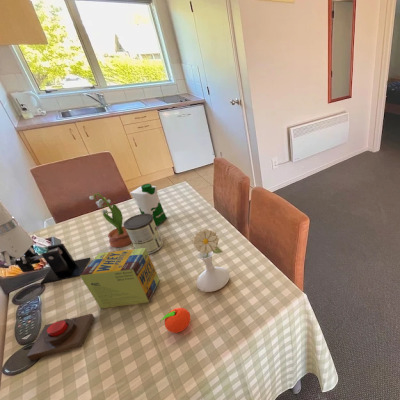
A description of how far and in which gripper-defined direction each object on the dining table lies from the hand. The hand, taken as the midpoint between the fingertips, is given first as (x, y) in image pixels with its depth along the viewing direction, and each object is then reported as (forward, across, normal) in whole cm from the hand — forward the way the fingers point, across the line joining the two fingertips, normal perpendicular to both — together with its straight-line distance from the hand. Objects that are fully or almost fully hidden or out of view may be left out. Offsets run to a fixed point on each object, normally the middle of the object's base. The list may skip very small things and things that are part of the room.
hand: (32, 266), depth 97 cm
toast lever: (-2, 0, +4) cm, 5 cm away
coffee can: (+6, -6, +36) cm, 37 cm away
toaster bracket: (+6, 0, +9) cm, 10 cm away
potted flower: (+6, -14, +24) cm, 28 cm away
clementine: (+6, +40, +52) cm, 66 cm away
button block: (+6, +32, +20) cm, 38 cm away
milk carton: (+6, -27, +35) cm, 44 cm away
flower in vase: (+6, +25, +63) cm, 68 cm away
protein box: (+6, +20, +35) cm, 40 cm away
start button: (+2, +32, +20) cm, 38 cm away
